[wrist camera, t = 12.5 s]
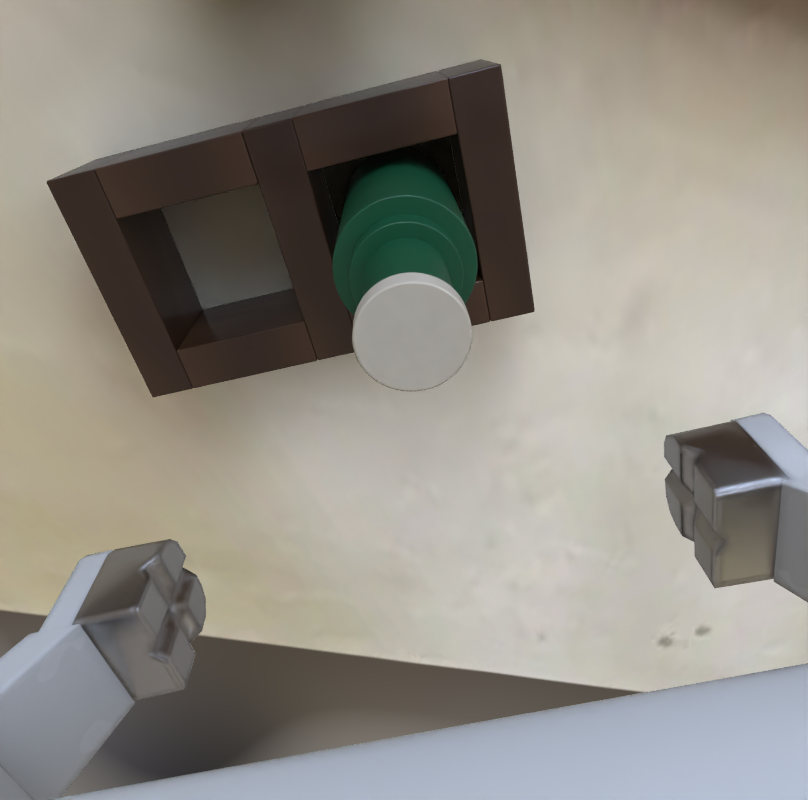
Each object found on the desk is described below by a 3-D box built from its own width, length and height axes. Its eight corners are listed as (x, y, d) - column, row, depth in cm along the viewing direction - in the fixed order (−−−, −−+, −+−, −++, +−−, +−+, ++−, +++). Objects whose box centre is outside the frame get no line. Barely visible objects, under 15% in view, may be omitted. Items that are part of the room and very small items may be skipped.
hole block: (181, 351, 34) (152, 398, 30) (94, 159, 29) (45, 181, 25) (514, 275, 33) (535, 312, 28) (482, 59, 28) (501, 63, 23)
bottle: (361, 264, 32) (346, 435, 18) (333, 162, 30) (292, 272, 16) (458, 241, 32) (518, 399, 18) (439, 135, 29) (490, 226, 16)
